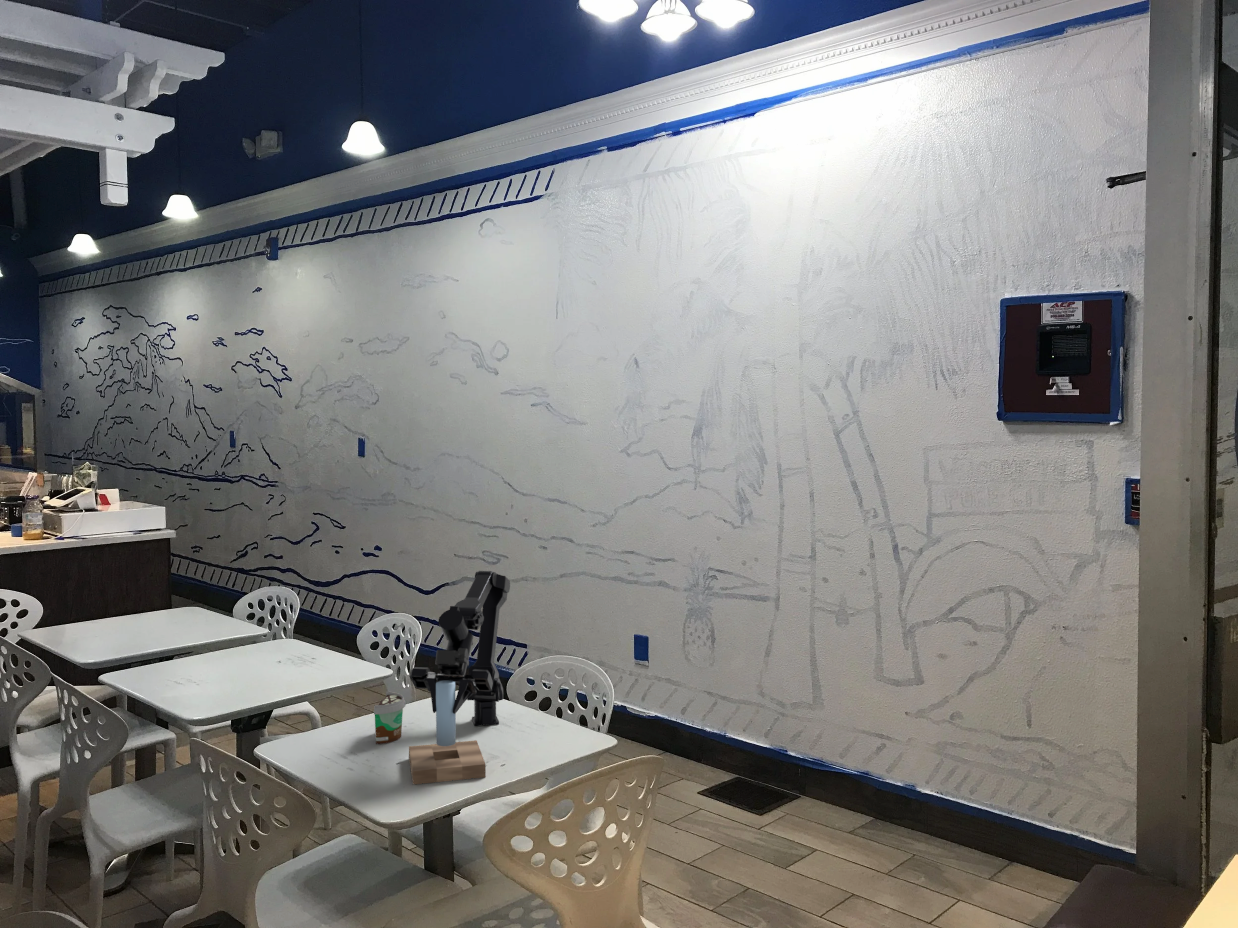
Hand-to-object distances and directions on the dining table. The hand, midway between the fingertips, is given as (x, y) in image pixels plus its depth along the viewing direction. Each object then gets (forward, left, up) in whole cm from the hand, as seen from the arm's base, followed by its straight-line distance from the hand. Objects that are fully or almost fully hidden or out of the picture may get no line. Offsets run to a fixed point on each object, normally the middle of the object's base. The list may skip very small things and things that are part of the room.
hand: (443, 712), depth 220 cm
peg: (-1, +1, -8) cm, 8 cm away
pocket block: (-1, +1, -13) cm, 13 cm away
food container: (-25, -10, -14) cm, 31 cm away
